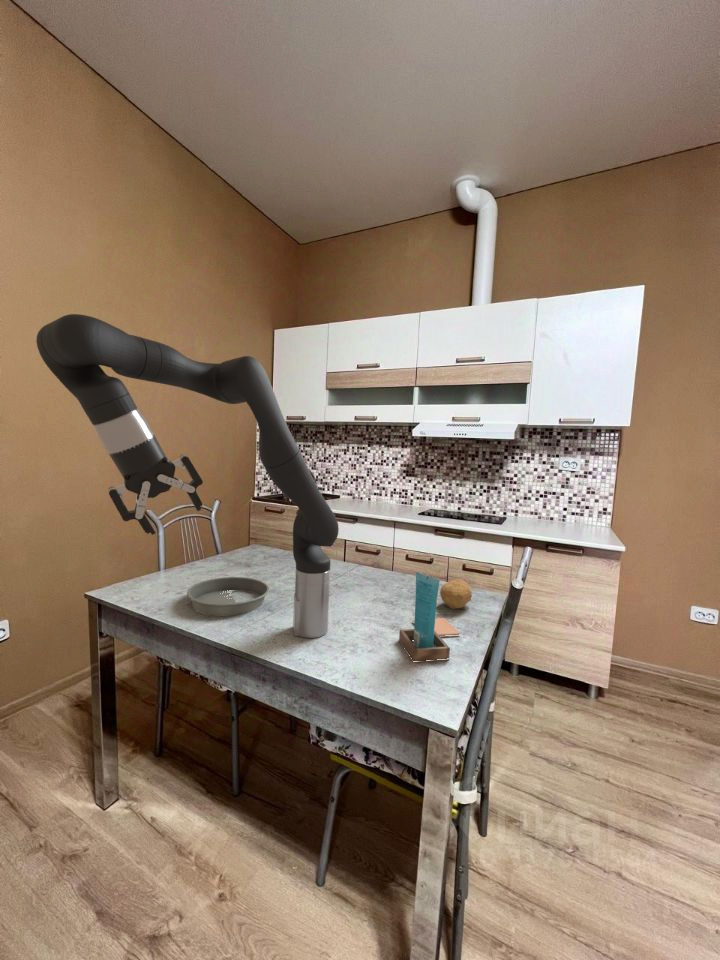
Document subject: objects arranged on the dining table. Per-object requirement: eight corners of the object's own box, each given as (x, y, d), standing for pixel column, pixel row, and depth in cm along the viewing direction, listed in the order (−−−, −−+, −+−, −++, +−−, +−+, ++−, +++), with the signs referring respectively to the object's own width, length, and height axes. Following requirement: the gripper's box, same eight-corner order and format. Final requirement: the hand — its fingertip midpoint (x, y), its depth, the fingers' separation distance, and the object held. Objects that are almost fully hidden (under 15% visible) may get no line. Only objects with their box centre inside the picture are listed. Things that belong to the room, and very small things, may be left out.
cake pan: (238, 625, 113) (239, 609, 112) (168, 610, 121) (168, 595, 120) (283, 596, 136) (283, 582, 136) (221, 585, 144) (221, 572, 144)
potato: (433, 610, 129) (434, 585, 129) (446, 597, 142) (448, 574, 141) (463, 617, 125) (465, 592, 124) (474, 603, 137) (476, 580, 136)
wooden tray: (413, 662, 97) (414, 650, 97) (399, 640, 108) (399, 629, 107) (449, 659, 99) (449, 648, 99) (431, 638, 110) (432, 627, 109)
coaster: (425, 638, 110) (425, 635, 110) (412, 622, 120) (412, 619, 119) (459, 636, 112) (459, 633, 112) (444, 620, 122) (444, 618, 122)
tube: (440, 652, 102) (445, 577, 101) (429, 659, 99) (434, 581, 97) (416, 641, 107) (420, 570, 106) (405, 647, 104) (409, 574, 102)
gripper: (85, 464, 62) (140, 548, 69) (176, 426, 68) (218, 507, 75) (85, 456, 68) (135, 534, 75) (168, 422, 74) (207, 497, 81)
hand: (176, 520), depth 75 cm, fingers open, 8 cm apart
